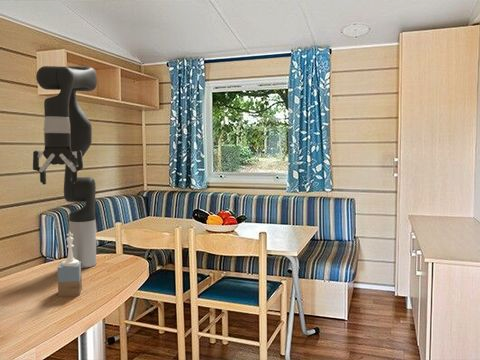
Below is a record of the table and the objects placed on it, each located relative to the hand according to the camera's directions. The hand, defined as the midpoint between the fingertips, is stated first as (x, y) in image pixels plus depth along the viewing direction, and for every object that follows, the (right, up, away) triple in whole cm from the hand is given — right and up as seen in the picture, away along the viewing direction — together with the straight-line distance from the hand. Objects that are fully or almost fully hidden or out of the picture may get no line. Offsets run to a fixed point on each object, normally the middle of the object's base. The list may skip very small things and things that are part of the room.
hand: (59, 184), depth 131 cm
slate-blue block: (+5, -29, -3) cm, 30 cm away
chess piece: (+5, -25, -3) cm, 25 cm away
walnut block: (+5, -34, -2) cm, 34 cm away
